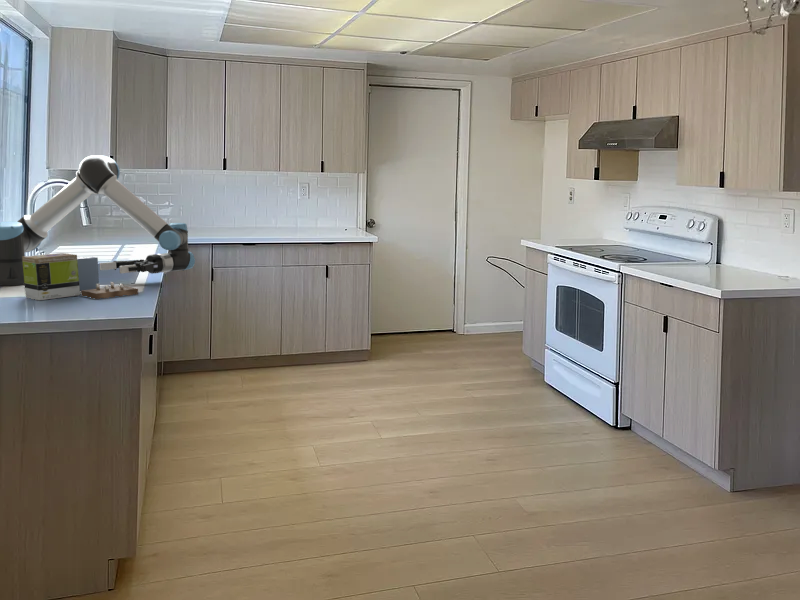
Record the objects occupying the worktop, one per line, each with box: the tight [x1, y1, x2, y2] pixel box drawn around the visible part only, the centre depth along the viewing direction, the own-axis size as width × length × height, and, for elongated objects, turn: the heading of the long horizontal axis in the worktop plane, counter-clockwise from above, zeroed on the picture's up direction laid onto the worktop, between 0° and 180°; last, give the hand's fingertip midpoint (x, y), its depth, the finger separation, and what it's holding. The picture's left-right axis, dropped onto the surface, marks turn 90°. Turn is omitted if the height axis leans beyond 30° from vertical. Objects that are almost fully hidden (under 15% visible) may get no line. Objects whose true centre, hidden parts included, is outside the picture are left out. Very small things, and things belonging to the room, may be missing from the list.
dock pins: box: [96, 281, 124, 292], centre depth 272 cm, size 7×7×2 cm
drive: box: [77, 256, 100, 291], centre depth 282 cm, size 8×4×12 cm, turn 141°
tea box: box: [22, 252, 81, 301], centre depth 266 cm, size 15×10×15 cm
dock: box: [80, 285, 139, 300], centre depth 273 cm, size 16×10×2 cm, turn 141°
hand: (109, 268), depth 290 cm, fingers open, 13 cm apart
